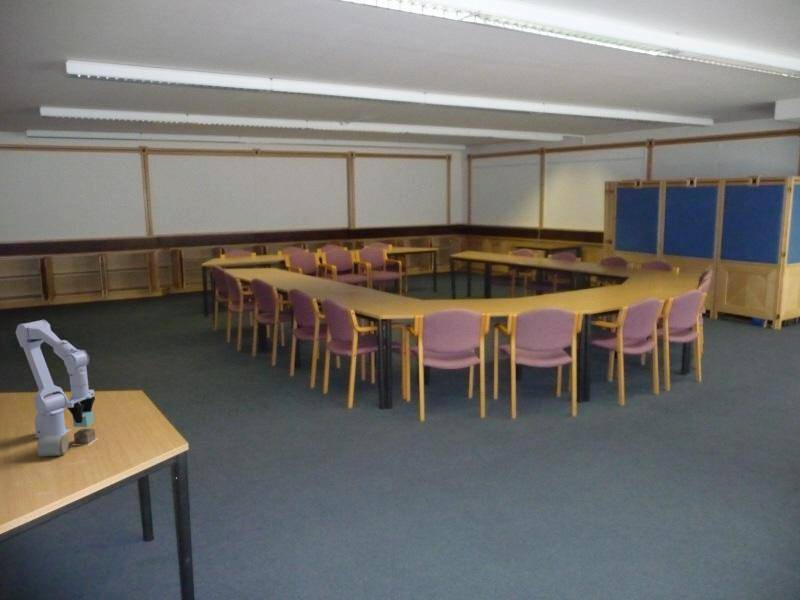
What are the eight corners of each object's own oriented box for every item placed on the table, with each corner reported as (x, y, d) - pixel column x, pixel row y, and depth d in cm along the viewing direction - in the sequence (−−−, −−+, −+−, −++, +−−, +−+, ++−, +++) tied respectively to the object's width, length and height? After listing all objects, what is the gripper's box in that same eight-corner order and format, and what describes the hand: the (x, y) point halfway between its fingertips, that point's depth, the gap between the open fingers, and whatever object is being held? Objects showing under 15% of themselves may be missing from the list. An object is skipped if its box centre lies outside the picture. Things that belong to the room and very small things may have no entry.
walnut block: (74, 444, 233) (73, 433, 232) (82, 438, 238) (81, 428, 237) (88, 444, 233) (87, 434, 232) (95, 439, 238) (94, 428, 237)
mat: (61, 446, 231) (61, 446, 231) (75, 437, 240) (75, 436, 240) (87, 447, 231) (87, 446, 231) (100, 437, 240) (100, 437, 240)
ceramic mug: (63, 458, 222) (60, 437, 220) (37, 460, 220) (35, 439, 219) (73, 447, 232) (71, 426, 231) (49, 448, 231) (47, 428, 230)
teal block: (73, 426, 232) (72, 416, 231) (81, 421, 237) (80, 411, 236) (87, 427, 232) (86, 416, 231) (94, 421, 237) (93, 411, 236)
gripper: (78, 390, 224) (82, 427, 226) (100, 378, 238) (103, 412, 241) (59, 390, 224) (63, 426, 227) (82, 378, 239) (85, 412, 241)
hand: (83, 419), depth 234 cm, fingers closed on teal block, 5 cm apart
